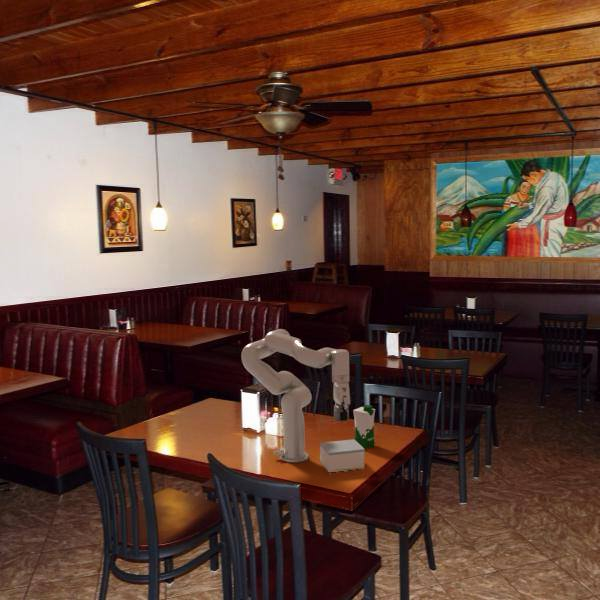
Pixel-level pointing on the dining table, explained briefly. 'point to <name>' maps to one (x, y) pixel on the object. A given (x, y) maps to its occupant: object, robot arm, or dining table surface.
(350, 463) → the box
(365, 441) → the milk carton
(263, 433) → the dining table surface
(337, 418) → the gray cube
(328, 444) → the lid
